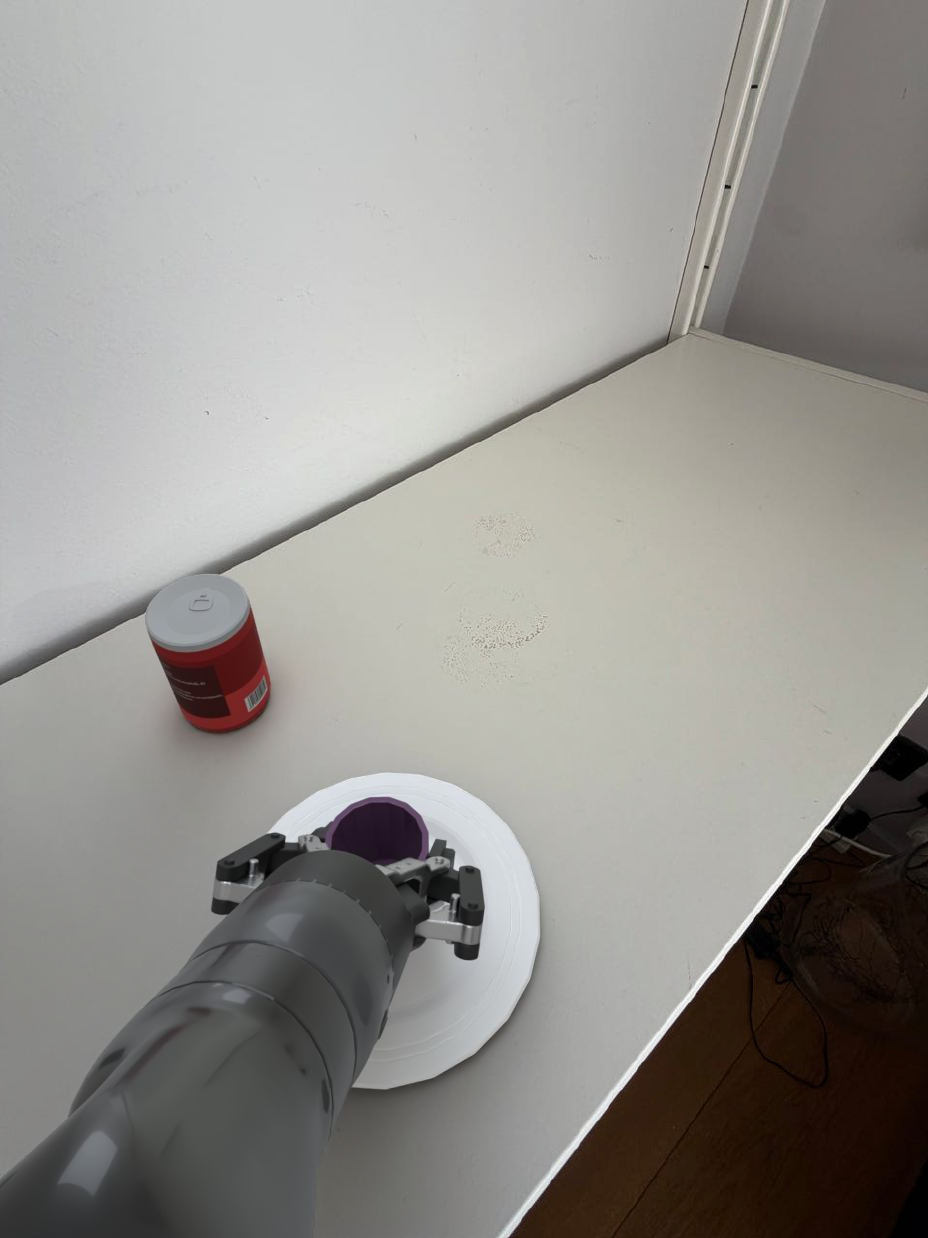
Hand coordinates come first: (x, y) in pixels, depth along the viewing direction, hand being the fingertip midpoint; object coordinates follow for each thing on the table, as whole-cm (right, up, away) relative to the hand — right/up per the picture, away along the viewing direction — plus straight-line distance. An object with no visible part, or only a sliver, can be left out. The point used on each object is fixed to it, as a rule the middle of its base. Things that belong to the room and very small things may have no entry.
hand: (386, 846), depth 45 cm
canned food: (-16, +7, +17) cm, 24 cm away
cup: (0, -4, +2) cm, 5 cm away
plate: (0, -6, +4) cm, 7 cm away
